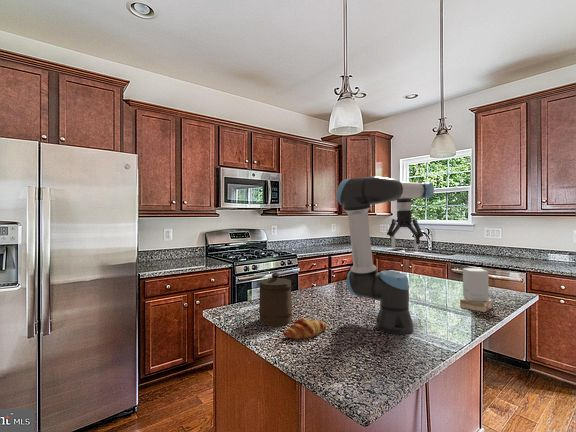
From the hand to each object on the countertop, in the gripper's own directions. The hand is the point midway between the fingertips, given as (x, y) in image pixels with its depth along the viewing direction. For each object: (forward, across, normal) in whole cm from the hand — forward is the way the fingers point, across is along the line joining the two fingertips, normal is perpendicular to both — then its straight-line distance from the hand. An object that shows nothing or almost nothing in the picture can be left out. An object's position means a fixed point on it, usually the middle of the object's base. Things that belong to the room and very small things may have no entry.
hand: (404, 249), depth 172 cm
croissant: (+29, +2, +73) cm, 78 cm away
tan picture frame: (+29, -30, -16) cm, 44 cm away
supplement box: (+25, -30, -16) cm, 42 cm away
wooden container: (+29, +23, +72) cm, 81 cm away
